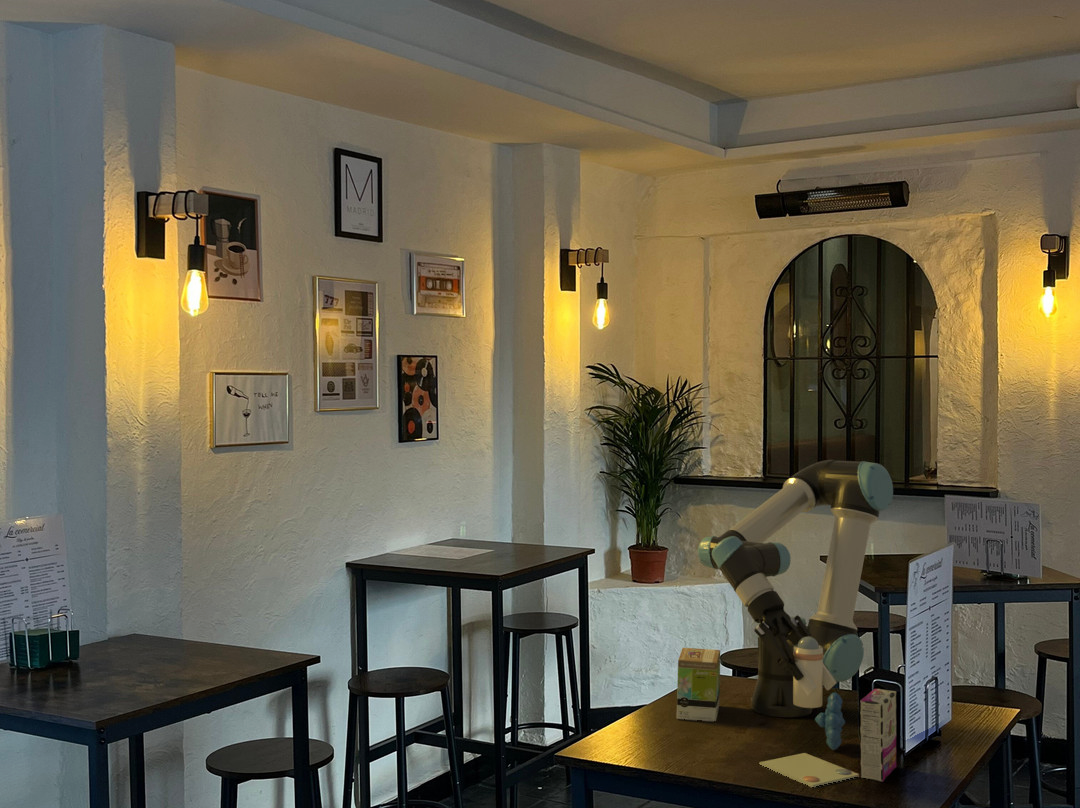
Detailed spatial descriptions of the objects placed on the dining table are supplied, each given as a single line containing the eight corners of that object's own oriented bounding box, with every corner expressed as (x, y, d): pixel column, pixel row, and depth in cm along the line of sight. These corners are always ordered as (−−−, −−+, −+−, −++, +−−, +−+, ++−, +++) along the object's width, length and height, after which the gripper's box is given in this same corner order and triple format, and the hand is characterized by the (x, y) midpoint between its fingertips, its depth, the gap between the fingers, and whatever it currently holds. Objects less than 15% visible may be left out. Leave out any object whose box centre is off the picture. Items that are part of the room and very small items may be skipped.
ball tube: (808, 698, 241) (808, 632, 241) (829, 705, 236) (829, 638, 236) (786, 702, 238) (787, 635, 238) (807, 709, 233) (807, 641, 233)
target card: (804, 755, 247) (804, 751, 247) (859, 777, 234) (859, 773, 234) (759, 765, 241) (759, 761, 241) (812, 787, 227) (812, 783, 227)
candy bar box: (873, 763, 242) (874, 687, 242) (897, 767, 240) (897, 690, 240) (858, 778, 233) (859, 699, 233) (882, 782, 230) (883, 702, 230)
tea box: (717, 722, 272) (717, 661, 272) (675, 720, 274) (676, 659, 274) (720, 706, 287) (720, 648, 287) (680, 703, 289) (680, 646, 289)
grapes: (816, 737, 261) (816, 685, 260) (846, 740, 259) (846, 688, 258) (812, 752, 249) (813, 698, 249) (844, 756, 247) (844, 701, 247)
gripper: (778, 604, 255) (838, 691, 242) (722, 614, 243) (783, 706, 230) (797, 584, 251) (859, 671, 238) (742, 593, 239) (804, 686, 226)
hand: (822, 688), depth 234 cm, fingers closed on ball tube, 6 cm apart
